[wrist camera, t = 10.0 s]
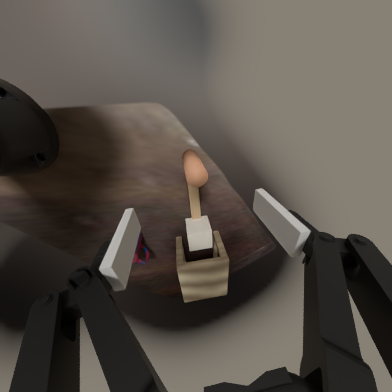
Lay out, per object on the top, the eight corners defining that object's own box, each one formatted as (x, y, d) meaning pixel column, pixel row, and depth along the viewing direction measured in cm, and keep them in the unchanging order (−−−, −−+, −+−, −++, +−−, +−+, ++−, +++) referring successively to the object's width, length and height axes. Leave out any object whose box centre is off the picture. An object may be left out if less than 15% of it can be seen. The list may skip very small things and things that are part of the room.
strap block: (175, 151, 31) (176, 169, 22) (203, 148, 32) (216, 164, 22) (187, 234, 43) (191, 269, 34) (207, 231, 44) (217, 264, 34)
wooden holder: (175, 236, 43) (176, 268, 34) (218, 230, 44) (229, 259, 35) (182, 269, 51) (184, 302, 43) (217, 263, 52) (226, 294, 44)
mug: (127, 222, 39) (119, 243, 33) (156, 241, 43) (153, 262, 37) (111, 236, 40) (100, 258, 34) (140, 253, 45) (135, 274, 39)
